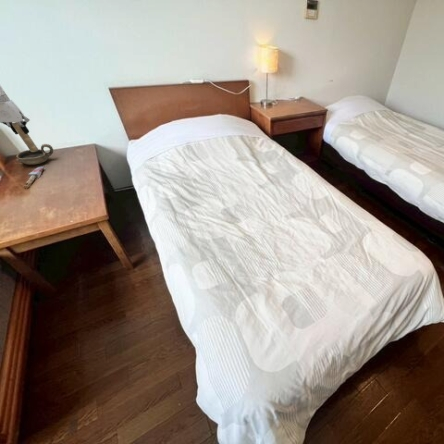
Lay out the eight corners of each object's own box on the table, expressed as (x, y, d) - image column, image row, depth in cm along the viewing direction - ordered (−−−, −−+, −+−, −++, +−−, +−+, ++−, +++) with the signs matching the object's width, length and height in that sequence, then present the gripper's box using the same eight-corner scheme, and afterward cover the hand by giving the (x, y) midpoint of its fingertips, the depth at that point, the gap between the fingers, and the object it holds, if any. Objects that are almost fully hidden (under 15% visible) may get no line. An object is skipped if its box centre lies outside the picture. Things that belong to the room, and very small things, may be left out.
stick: (29, 152, 143) (10, 124, 132) (32, 149, 145) (13, 122, 135) (37, 151, 144) (18, 124, 133) (39, 148, 146) (21, 122, 135)
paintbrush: (43, 164, 143) (28, 185, 130) (46, 168, 145) (31, 189, 132) (35, 164, 142) (19, 185, 129) (38, 168, 144) (22, 189, 131)
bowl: (22, 160, 149) (10, 144, 143) (58, 153, 158) (49, 139, 151) (21, 170, 142) (9, 155, 135) (59, 163, 150) (49, 148, 143)
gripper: (-28, 100, 120) (0, 136, 133) (14, 100, 125) (37, 135, 137) (-19, 96, 126) (7, 131, 138) (22, 95, 130) (43, 130, 142)
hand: (22, 132), depth 137 cm, fingers closed on stick, 3 cm apart
